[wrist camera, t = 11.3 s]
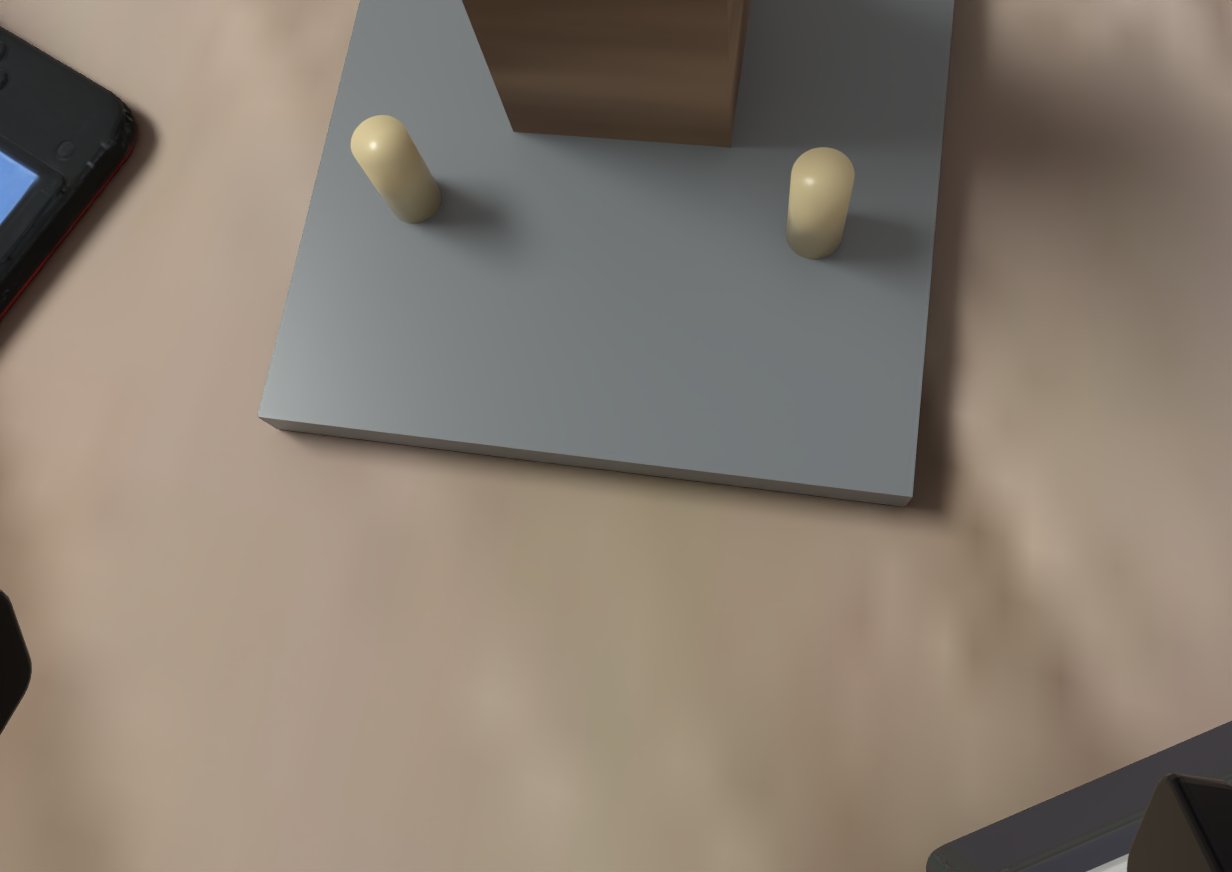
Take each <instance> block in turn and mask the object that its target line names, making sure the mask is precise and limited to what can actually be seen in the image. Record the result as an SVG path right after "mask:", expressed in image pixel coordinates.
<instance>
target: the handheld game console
mask: <svg viewBox="0 0 1232 872" xmlns="http://www.w3.org/2000/svg"><path fill="white" fill-rule="evenodd" d="M136 136H137V124H136V121H135V118H134V116H133V114H132V112H131V110H130V109H129V108H128V107H127V106H126V104H125V103H124V102H122V101H121V100H120V99H119V98H118V97H117V96H116V95H115V94H113V93H112V92H111V91H109V90H107V89H105V88H104V87H102V86H100V85H98V84H97V83H95V82H93V81H92V80H90V79H89V78H87V77H85V76H84V75H82V74H80V73H78V72H77V71H75V70H73V69H72V68H70V67H68V66H66V65H64V64H63V63H61V62H60V61H58V60H56V59H54V58H53V57H51V56H49V55H48V54H46V53H44V52H43V51H41V50H39V49H38V48H36V47H35V46H33V45H31V44H29V43H28V42H26V41H24V40H23V39H21V38H19V37H17V36H16V35H14V34H12V33H10V32H9V31H7V30H5V29H4V28H2V27H0V319H1V317H2V316H3V315H4V314H5V312H6V311H7V310H8V309H9V307H10V306H11V305H12V304H13V302H14V301H15V300H16V299H17V297H18V296H19V295H20V294H21V292H22V291H23V290H24V288H25V287H26V286H27V285H28V283H29V282H30V281H31V280H32V278H33V277H34V276H35V275H36V273H37V272H38V271H39V270H40V268H41V267H42V266H43V264H44V263H45V262H46V260H47V259H48V258H49V257H50V255H51V254H52V253H53V251H54V250H55V249H56V248H57V246H58V245H59V244H60V243H61V241H62V240H63V239H64V238H65V236H66V235H67V234H68V233H69V232H70V230H71V229H72V228H73V226H74V225H75V224H76V223H77V221H78V220H79V219H80V217H81V216H82V215H83V214H84V212H85V211H86V210H87V208H88V207H89V206H90V205H91V203H92V202H93V201H94V199H95V198H96V197H97V196H98V194H99V193H100V192H101V191H102V189H103V188H104V187H105V185H106V184H107V183H108V182H109V180H110V179H111V178H112V176H113V175H114V174H115V173H116V171H117V170H118V169H119V167H120V166H121V165H122V164H123V162H124V161H125V160H126V158H127V157H128V155H129V154H130V152H131V151H132V148H133V146H134V143H135V140H136Z"/></svg>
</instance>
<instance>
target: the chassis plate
mask: <svg viewBox="0 0 1232 872" xmlns="http://www.w3.org/2000/svg"><path fill="white" fill-rule="evenodd" d="M953 12H954V0H751V4H750V11H749V19H748V26H747V33H746V40H745V47H744V55H743V62H742V69H741V76H740V84H739V91H738V98H737V105H736V112H735V120H734V127H733V134H732V141H731V148H730V147H716V146H702V145H689V144H675V143H661V142H647V141H634V140H620V139H606V138H592V137H579V136H565V135H551V134H538V133H524V132H513V129H512V127H511V124H510V122H509V119H508V117H507V114H506V112H505V109H504V107H503V104H502V101H501V99H500V96H499V94H498V91H497V89H496V86H495V84H494V81H493V79H492V76H491V73H490V71H489V68H488V66H487V63H486V61H485V58H484V56H483V53H482V51H481V48H480V45H479V43H478V40H477V38H476V35H475V33H474V30H473V28H472V25H471V23H470V20H469V17H468V15H467V12H466V10H465V7H464V5H463V2H462V0H360V3H359V7H358V11H357V15H356V19H355V23H354V27H353V31H352V36H351V40H350V44H349V48H348V52H347V56H346V60H345V64H344V68H343V72H342V76H341V80H340V84H339V88H338V92H337V96H336V100H335V104H334V108H333V112H332V116H331V121H330V125H329V129H328V133H327V137H326V141H325V145H324V149H323V153H322V157H321V161H320V165H319V169H318V173H317V177H316V181H315V185H314V189H313V193H312V197H311V202H310V206H309V210H308V214H307V218H306V222H305V226H304V230H303V234H302V238H301V242H300V246H299V250H298V254H297V258H296V262H295V266H294V270H293V274H292V278H291V283H290V287H289V291H288V295H287V299H286V303H285V307H284V311H283V315H282V319H281V323H280V327H279V331H278V335H277V339H276V343H275V347H274V351H273V355H272V359H271V363H270V368H269V372H268V376H267V380H266V384H265V388H264V392H263V396H262V400H261V404H260V408H259V412H258V416H257V417H259V418H260V419H262V420H263V421H265V422H267V423H268V424H270V425H271V426H273V427H275V428H276V429H281V430H289V431H297V432H305V433H313V434H322V435H330V436H338V437H346V438H354V439H362V440H370V441H378V442H386V443H394V444H402V445H410V446H418V447H426V448H434V449H442V450H451V451H459V452H467V453H475V454H483V455H491V456H499V457H507V458H515V459H523V460H531V461H539V462H547V463H555V464H563V465H571V466H579V467H588V468H596V469H604V470H612V471H620V472H628V473H636V474H644V475H652V476H660V477H668V478H676V479H684V480H692V481H700V482H708V483H717V484H725V485H733V486H741V487H749V488H757V489H765V490H773V491H781V492H789V493H797V494H805V495H813V496H821V497H829V498H837V499H845V500H854V501H862V502H870V503H878V504H886V505H894V506H902V507H905V506H906V505H907V504H908V502H909V501H910V500H911V498H912V497H913V485H914V473H915V461H916V449H917V437H918V426H919V414H920V402H921V390H922V378H923V366H924V355H925V343H926V331H927V319H928V307H929V295H930V284H931V272H932V260H933V248H934V236H935V224H936V213H937V201H938V189H939V177H940V165H941V154H942V142H943V130H944V118H945V106H946V94H947V83H948V71H949V59H950V47H951V35H952V23H953Z"/></svg>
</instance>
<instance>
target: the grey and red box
mask: <svg viewBox="0 0 1232 872" xmlns="http://www.w3.org/2000/svg"><path fill="white" fill-rule="evenodd" d="M1170 773H1180V774H1187V775H1193V776H1199V777H1206V778H1212V779H1218V780H1222V781H1225V782H1228V783H1230V784H1232V721H1230V722H1228V723H1226V724H1223V725H1221V726H1219V727H1216V728H1214V729H1212V730H1209V731H1207V732H1205V733H1202V734H1200V735H1198V736H1195V737H1193V738H1191V739H1188V740H1186V741H1184V742H1182V743H1179V744H1177V745H1175V746H1172V747H1170V748H1168V749H1165V750H1163V751H1161V752H1158V753H1156V754H1154V755H1151V756H1149V757H1147V758H1144V759H1142V760H1140V761H1137V762H1135V763H1133V764H1130V765H1128V766H1126V767H1123V768H1121V769H1119V770H1117V771H1114V772H1112V773H1110V774H1107V775H1105V776H1103V777H1100V778H1098V779H1096V780H1093V781H1091V782H1089V783H1086V784H1084V785H1082V786H1079V787H1077V788H1075V789H1072V790H1070V791H1068V792H1065V793H1063V794H1061V795H1058V796H1056V797H1054V798H1052V799H1049V800H1047V801H1045V802H1042V803H1040V804H1038V805H1035V806H1033V807H1031V808H1028V809H1026V810H1024V811H1021V812H1019V813H1017V814H1014V815H1012V816H1010V817H1007V818H1005V819H1003V820H1000V821H998V822H996V823H994V824H991V825H989V826H987V827H984V828H982V829H980V830H977V831H975V832H973V833H970V834H968V835H966V836H963V837H961V838H959V839H956V840H954V841H952V842H950V843H947V844H945V845H943V846H941V847H939V848H938V849H936V850H935V851H934V852H933V853H932V854H931V855H930V857H929V858H928V861H927V865H926V872H1127V861H1128V855H1129V850H1130V847H1131V844H1132V842H1133V840H1134V837H1135V835H1136V832H1137V830H1138V828H1139V825H1140V823H1141V820H1142V818H1143V815H1144V813H1145V811H1146V808H1147V806H1148V803H1149V801H1150V799H1151V796H1152V794H1153V791H1154V789H1155V787H1156V785H1157V783H1158V782H1159V780H1160V779H1161V778H1162V777H1163V776H1164V775H1167V774H1170Z"/></svg>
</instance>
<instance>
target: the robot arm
mask: <svg viewBox="0 0 1232 872" xmlns="http://www.w3.org/2000/svg"><path fill="white" fill-rule="evenodd" d="M31 673H32V662H31V658H30V655H29V652H28V649H27V646H26V643H25V641H24V638H23V635H22V632H21V629H20V626H19V623H18V620H17V618H16V615H15V612H14V609H13V606H12V603H11V601H10V599H9V597H8V596H7V595H6V594H5V593H4V592H3V591H2V590H0V735H1V733H2V731H3V730H4V728H5V726H6V725H7V723H8V721H9V720H10V718H11V716H12V715H13V713H14V711H15V710H16V708H17V706H18V704H19V703H20V701H21V699H22V698H23V696H24V694H25V692H26V690H27V688H28V685H29V682H30V679H31ZM1127 872H1232V784H1230V783H1228V782H1225V781H1222V780H1218V779H1212V778H1206V777H1199V776H1193V775H1187V774H1180V773H1170V774H1167V775H1164V776H1163V777H1162V778H1161V779H1160V780H1159V782H1158V783H1157V785H1156V787H1155V789H1154V791H1153V794H1152V796H1151V799H1150V801H1149V803H1148V806H1147V808H1146V811H1145V813H1144V815H1143V818H1142V820H1141V823H1140V825H1139V828H1138V830H1137V832H1136V835H1135V837H1134V840H1133V842H1132V844H1131V847H1130V850H1129V855H1128V861H1127Z"/></svg>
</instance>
